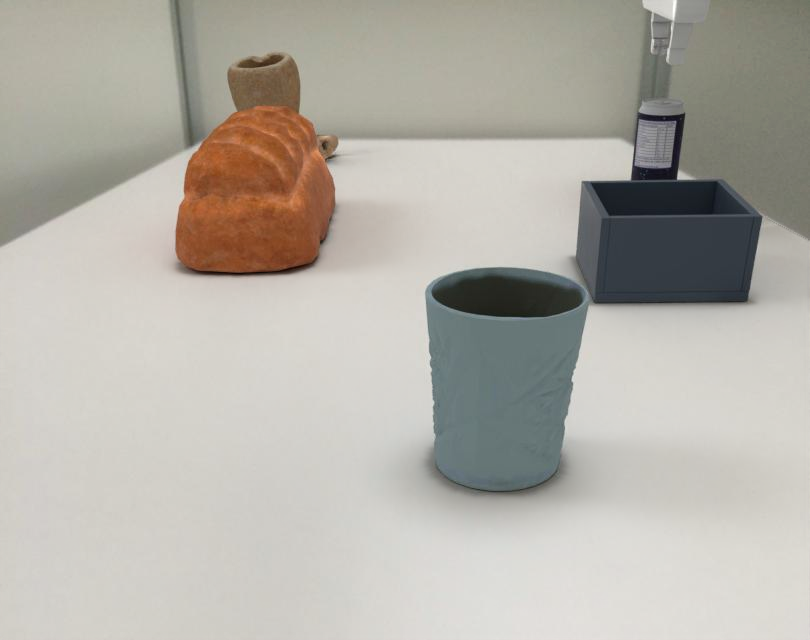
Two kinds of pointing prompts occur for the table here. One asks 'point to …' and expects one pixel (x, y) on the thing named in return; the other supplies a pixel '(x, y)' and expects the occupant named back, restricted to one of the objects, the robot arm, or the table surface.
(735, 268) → the bin
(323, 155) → the stone cup
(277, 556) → the table surface
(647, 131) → the beverage can
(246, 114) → the bread
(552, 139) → the table surface
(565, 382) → the teal cup
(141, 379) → the table surface
